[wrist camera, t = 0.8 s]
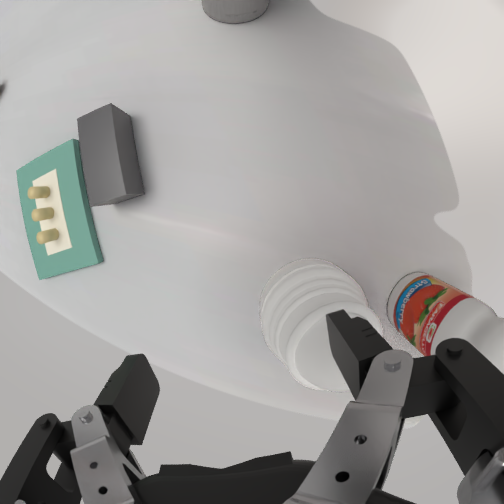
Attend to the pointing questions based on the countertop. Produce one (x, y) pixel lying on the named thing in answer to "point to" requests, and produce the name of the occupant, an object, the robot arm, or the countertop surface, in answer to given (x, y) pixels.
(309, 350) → the honey pot
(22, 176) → the header board
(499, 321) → the fruit juice
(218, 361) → the countertop surface
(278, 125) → the countertop surface
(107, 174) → the block
